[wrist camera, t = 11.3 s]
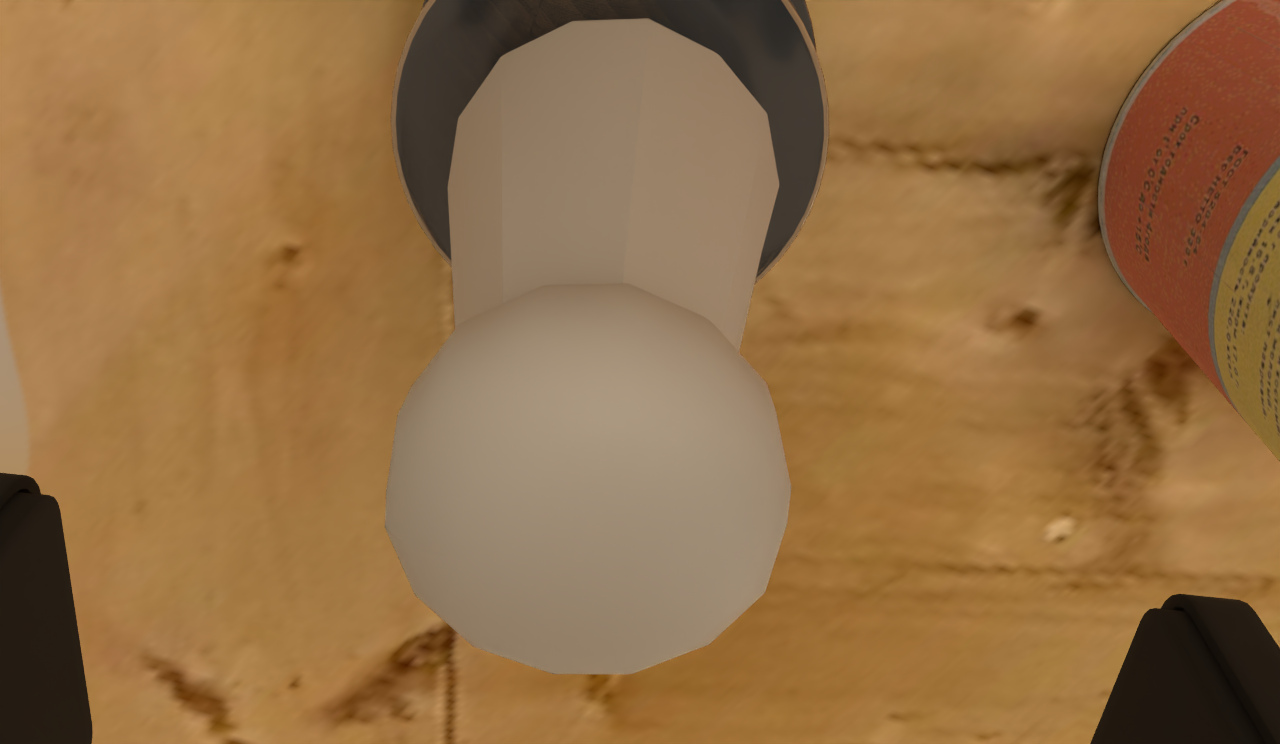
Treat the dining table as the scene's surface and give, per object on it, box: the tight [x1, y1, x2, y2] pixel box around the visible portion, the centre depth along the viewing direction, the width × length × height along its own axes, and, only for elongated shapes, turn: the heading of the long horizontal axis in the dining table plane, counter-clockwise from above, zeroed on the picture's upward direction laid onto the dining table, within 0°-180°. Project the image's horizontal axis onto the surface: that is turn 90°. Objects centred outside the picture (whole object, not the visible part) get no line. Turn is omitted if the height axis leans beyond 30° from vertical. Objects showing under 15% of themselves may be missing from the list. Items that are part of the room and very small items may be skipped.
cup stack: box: [391, 0, 829, 283], centre depth 27 cm, size 9×9×10 cm
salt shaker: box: [385, 18, 791, 674], centre depth 17 cm, size 6×6×13 cm
